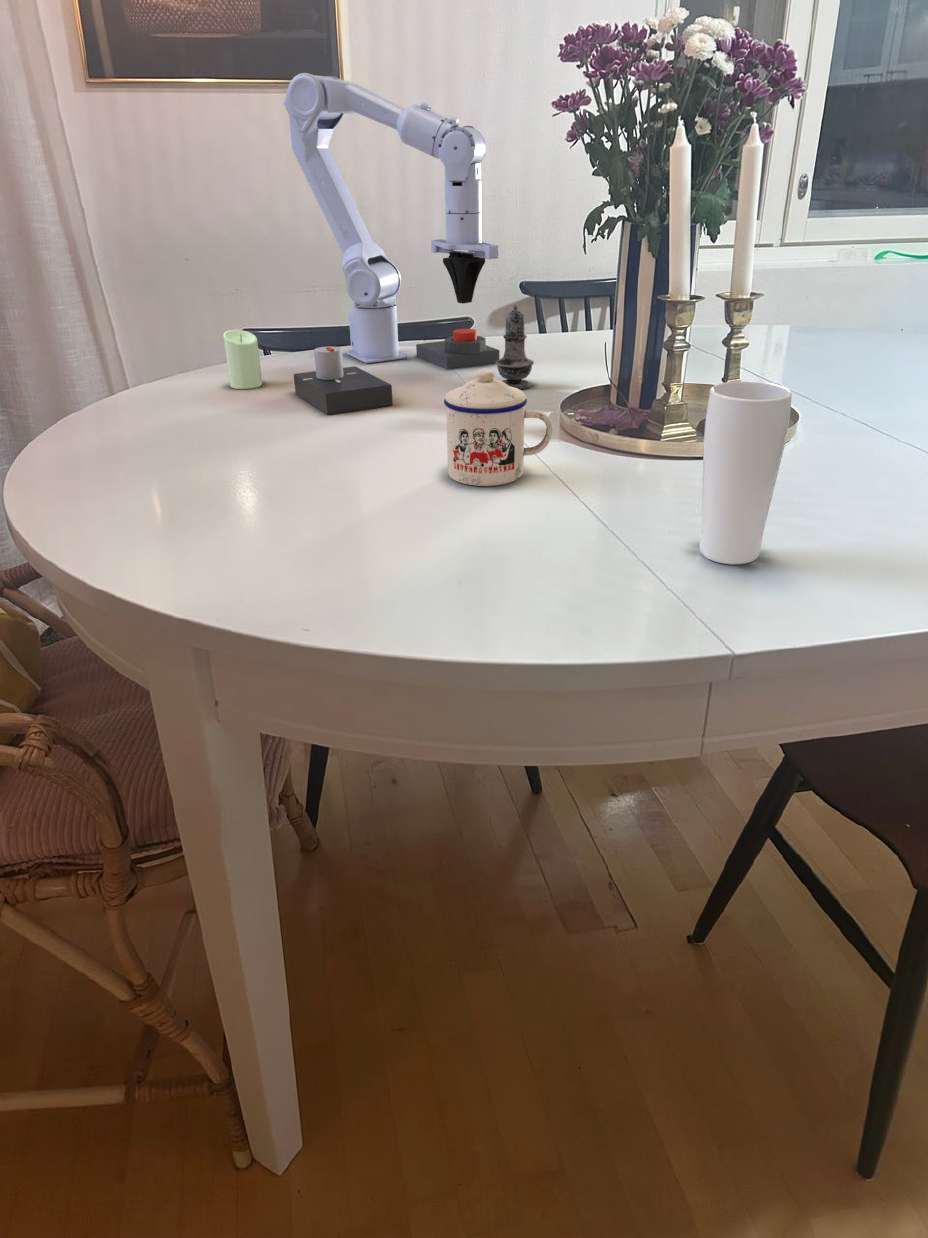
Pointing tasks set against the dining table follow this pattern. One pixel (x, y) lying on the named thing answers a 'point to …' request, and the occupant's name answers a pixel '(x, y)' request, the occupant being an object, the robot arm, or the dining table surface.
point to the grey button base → (458, 353)
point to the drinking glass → (741, 466)
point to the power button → (465, 335)
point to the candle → (242, 359)
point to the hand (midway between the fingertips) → (464, 302)
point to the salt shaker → (515, 352)
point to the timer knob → (328, 363)
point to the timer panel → (344, 391)
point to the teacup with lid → (488, 431)
